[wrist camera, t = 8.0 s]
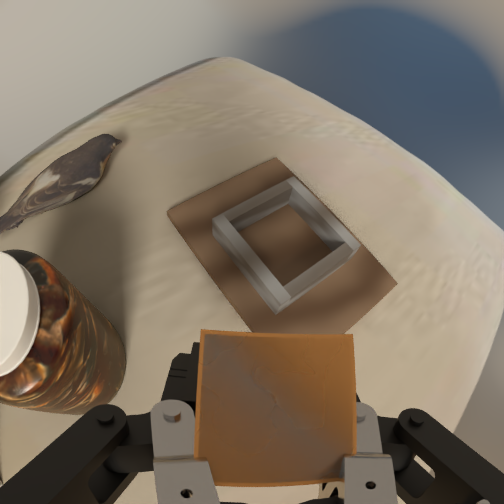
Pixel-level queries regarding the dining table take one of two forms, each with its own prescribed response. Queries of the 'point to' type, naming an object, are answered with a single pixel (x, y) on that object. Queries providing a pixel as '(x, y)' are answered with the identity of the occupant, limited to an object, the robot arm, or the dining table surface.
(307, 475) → the orange rectangular block
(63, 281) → the jar
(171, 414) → the robot arm
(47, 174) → the decorative bird
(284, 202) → the socket board
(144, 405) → the dining table surface
